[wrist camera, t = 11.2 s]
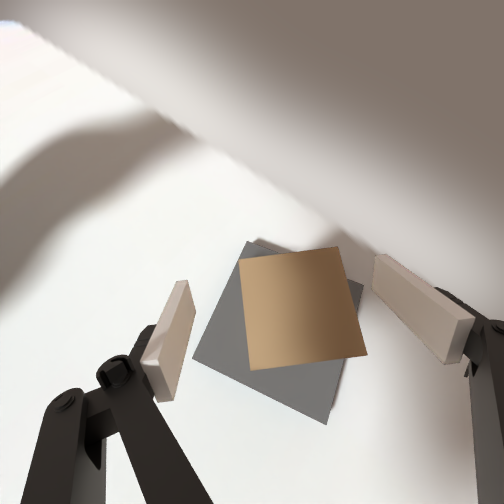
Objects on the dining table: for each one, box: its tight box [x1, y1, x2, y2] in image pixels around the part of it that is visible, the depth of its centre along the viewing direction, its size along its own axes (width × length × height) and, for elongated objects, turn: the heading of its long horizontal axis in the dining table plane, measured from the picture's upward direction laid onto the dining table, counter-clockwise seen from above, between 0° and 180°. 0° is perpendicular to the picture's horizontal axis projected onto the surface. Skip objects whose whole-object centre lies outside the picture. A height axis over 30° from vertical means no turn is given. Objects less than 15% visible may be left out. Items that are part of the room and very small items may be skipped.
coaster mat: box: [192, 241, 364, 425], centre depth 22 cm, size 12×12×2 cm
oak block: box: [238, 247, 367, 371], centre depth 16 cm, size 5×5×11 cm
